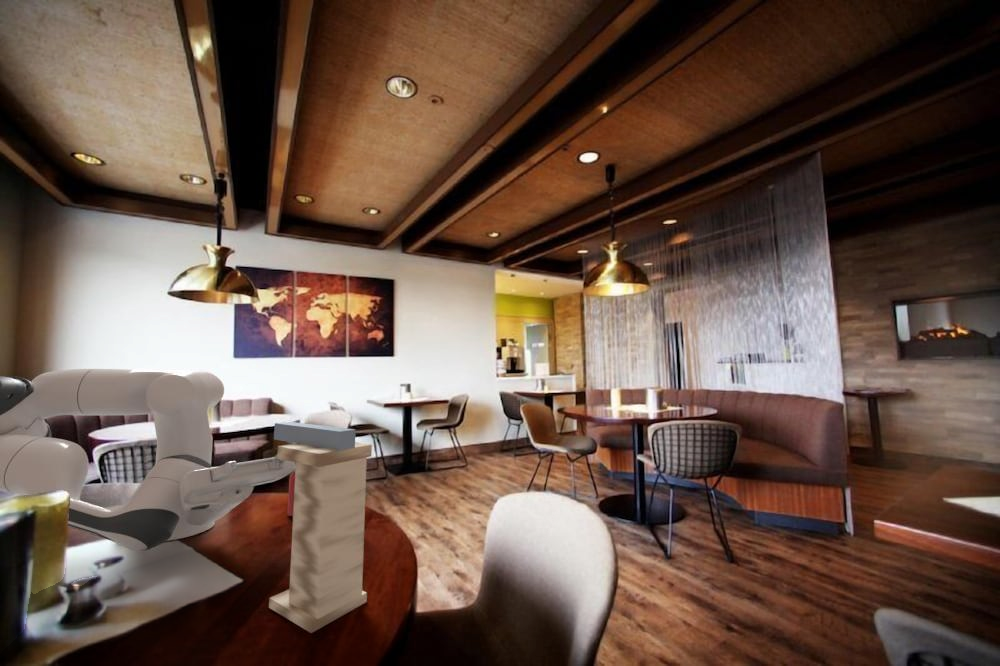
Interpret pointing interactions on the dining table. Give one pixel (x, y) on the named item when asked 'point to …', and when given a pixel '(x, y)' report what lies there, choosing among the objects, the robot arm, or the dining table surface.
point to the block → (315, 435)
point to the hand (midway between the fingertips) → (258, 460)
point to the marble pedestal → (325, 534)
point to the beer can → (291, 493)
